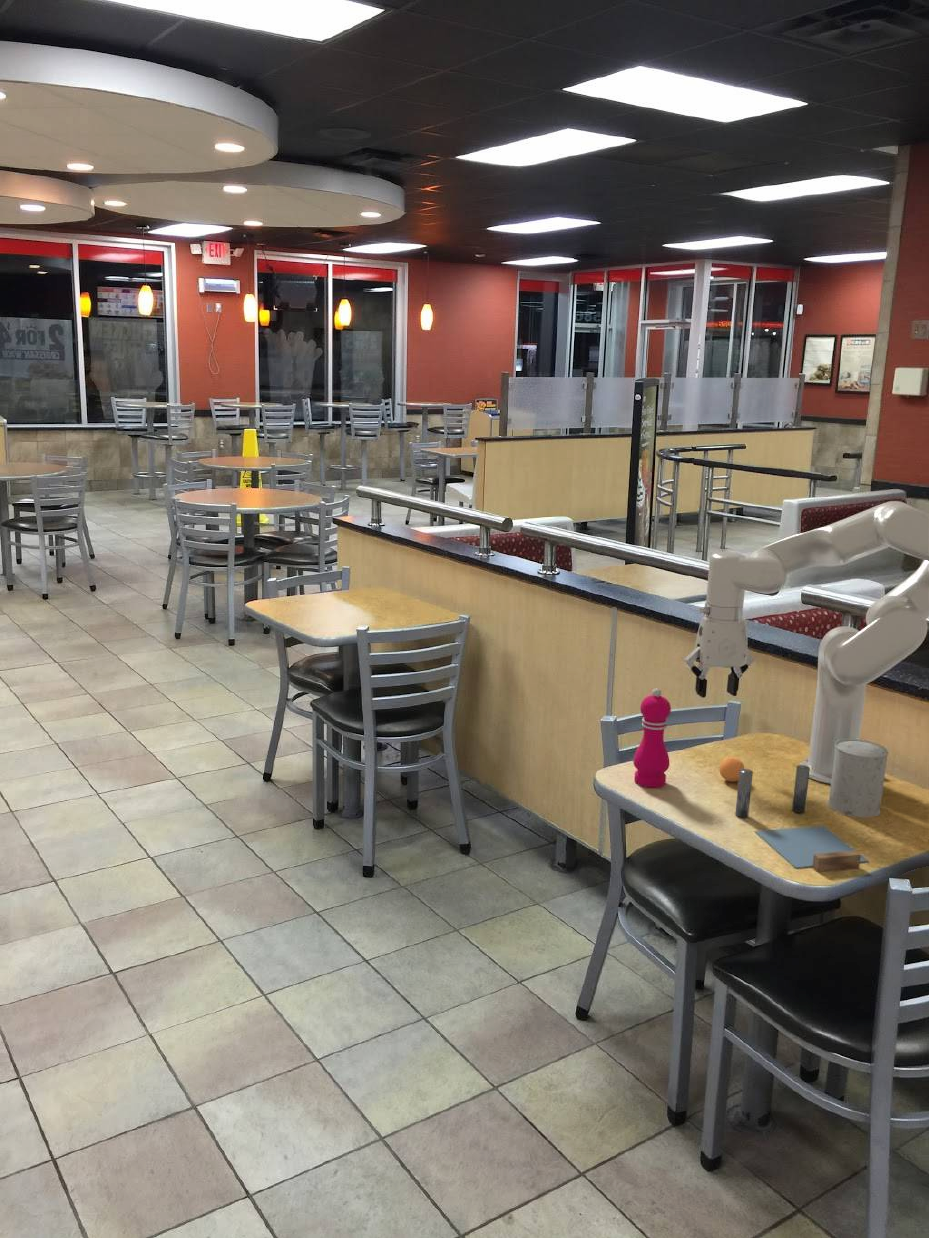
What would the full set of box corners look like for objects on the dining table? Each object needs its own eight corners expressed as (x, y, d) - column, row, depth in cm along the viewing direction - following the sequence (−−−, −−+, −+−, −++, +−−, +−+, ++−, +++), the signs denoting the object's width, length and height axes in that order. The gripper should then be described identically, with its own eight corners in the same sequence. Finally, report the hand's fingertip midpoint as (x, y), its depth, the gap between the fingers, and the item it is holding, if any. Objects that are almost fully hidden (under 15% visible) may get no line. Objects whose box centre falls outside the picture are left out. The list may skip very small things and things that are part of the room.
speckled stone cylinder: (853, 820, 192) (861, 759, 189) (817, 801, 200) (824, 742, 197) (891, 813, 195) (899, 753, 192) (854, 794, 204) (862, 736, 201)
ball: (736, 775, 212) (738, 752, 211) (747, 784, 207) (750, 761, 206) (714, 776, 211) (716, 754, 209) (725, 786, 206) (727, 763, 205)
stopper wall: (853, 863, 175) (855, 850, 174) (859, 867, 173) (860, 854, 173) (812, 867, 173) (813, 854, 172) (817, 871, 171) (818, 858, 171)
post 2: (800, 808, 196) (805, 764, 194) (807, 813, 194) (812, 769, 192) (789, 809, 196) (794, 765, 194) (795, 814, 194) (801, 770, 192)
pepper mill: (670, 789, 203) (678, 694, 199) (634, 788, 204) (641, 693, 199) (664, 775, 210) (672, 683, 206) (629, 774, 211) (636, 682, 206)
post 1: (744, 812, 194) (748, 768, 192) (750, 817, 192) (755, 773, 189) (732, 813, 193) (737, 769, 191) (739, 818, 191) (743, 774, 189)
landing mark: (823, 826, 189) (823, 825, 189) (868, 861, 175) (868, 860, 175) (754, 832, 186) (755, 831, 186) (795, 868, 172) (795, 867, 172)
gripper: (693, 617, 204) (685, 702, 209) (770, 615, 208) (762, 698, 213) (677, 609, 211) (670, 691, 216) (752, 607, 215) (745, 687, 220)
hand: (716, 694), depth 214 cm, fingers open, 6 cm apart
